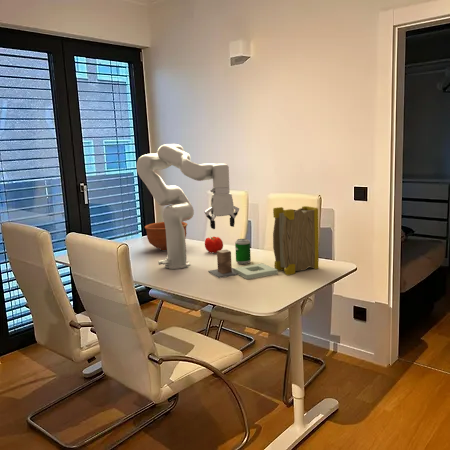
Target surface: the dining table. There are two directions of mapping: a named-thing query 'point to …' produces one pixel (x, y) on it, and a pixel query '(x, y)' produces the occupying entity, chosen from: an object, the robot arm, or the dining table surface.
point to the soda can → (242, 251)
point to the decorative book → (295, 239)
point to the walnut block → (224, 261)
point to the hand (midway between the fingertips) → (222, 227)
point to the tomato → (213, 244)
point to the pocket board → (248, 274)
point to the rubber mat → (220, 275)
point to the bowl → (159, 234)
